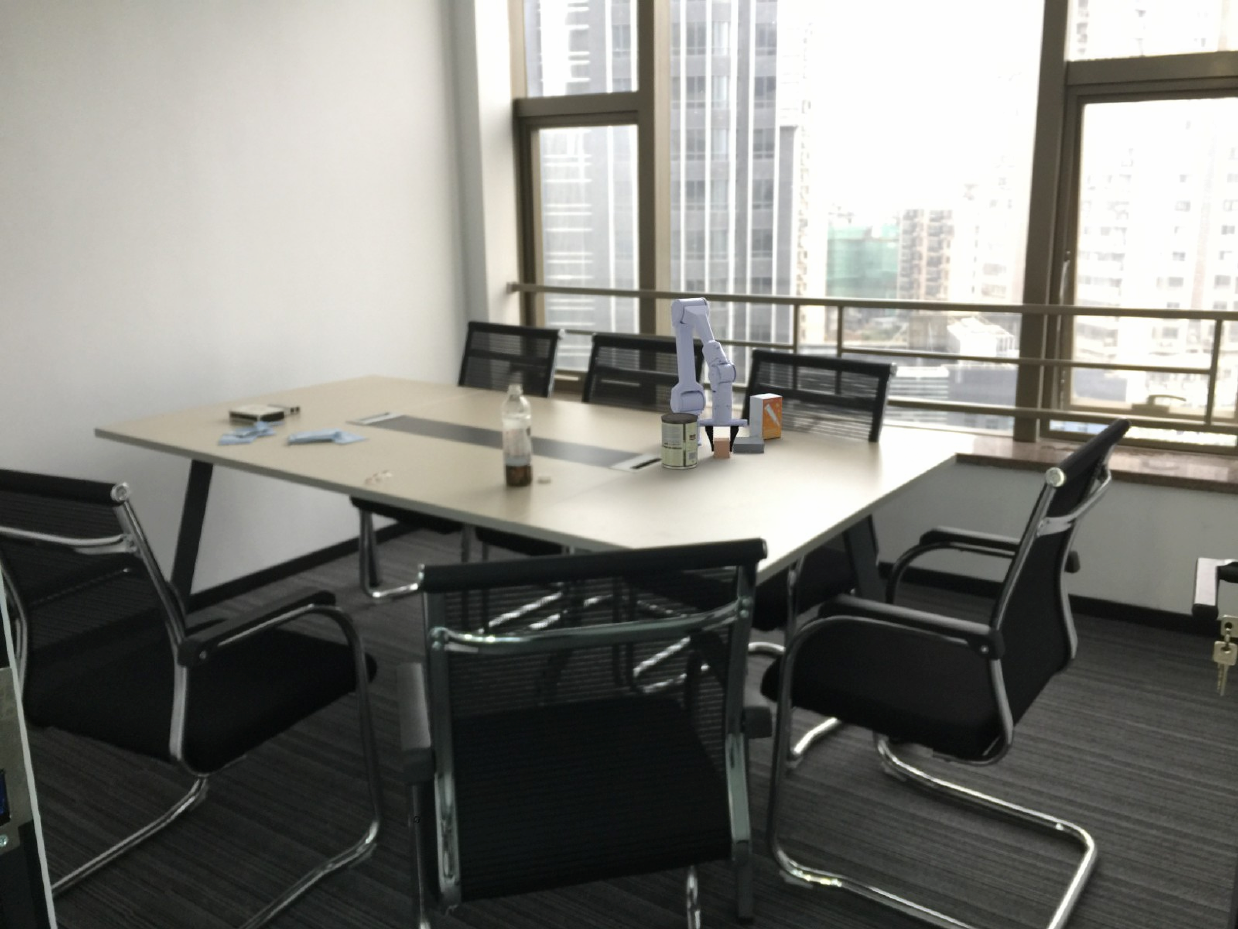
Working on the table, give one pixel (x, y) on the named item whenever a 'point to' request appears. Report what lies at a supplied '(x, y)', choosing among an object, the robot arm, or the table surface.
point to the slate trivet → (748, 444)
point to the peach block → (721, 447)
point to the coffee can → (679, 440)
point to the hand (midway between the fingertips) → (721, 451)
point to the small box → (765, 416)
